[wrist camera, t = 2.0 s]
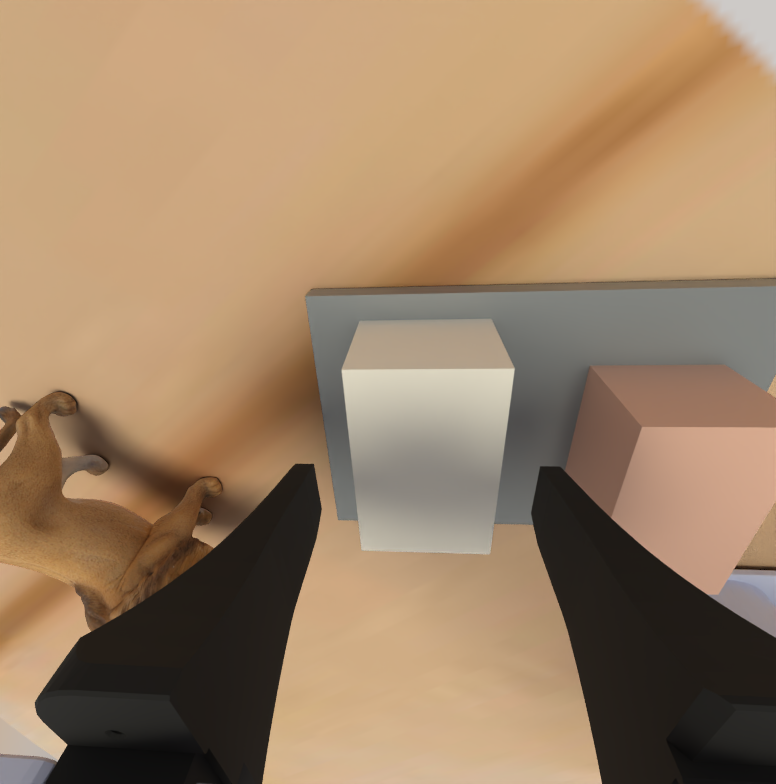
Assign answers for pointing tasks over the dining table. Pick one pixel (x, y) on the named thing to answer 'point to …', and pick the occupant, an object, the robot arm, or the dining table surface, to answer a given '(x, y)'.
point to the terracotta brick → (679, 461)
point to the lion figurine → (88, 521)
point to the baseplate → (551, 353)
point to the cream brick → (427, 432)
